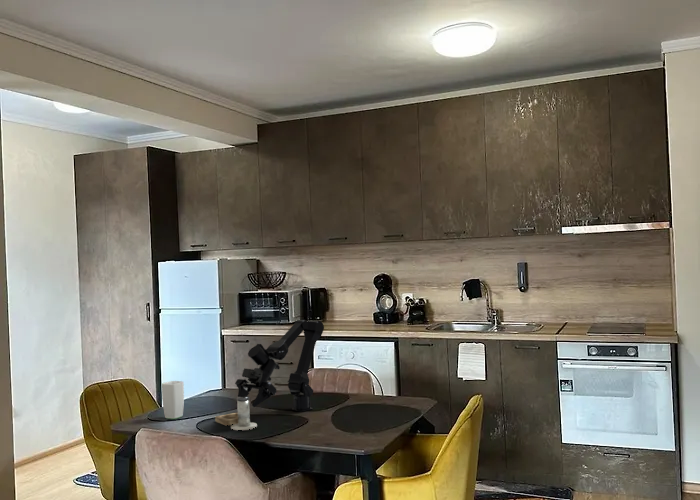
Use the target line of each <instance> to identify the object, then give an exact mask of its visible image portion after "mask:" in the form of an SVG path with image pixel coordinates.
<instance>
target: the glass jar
mask: <svg viewBox="0 0 700 500" xmlns="http://www.w3.org/2000/svg"><path fill="white" fill-rule="evenodd" d="M236 402H237V403H236V405H237V412H238V426H239V427H248V426H250V422H251V415H250V414H251V413H250V412H251V411H250V396H249V395H247V396H239V397H238V396H236Z"/></svg>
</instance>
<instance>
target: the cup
mask: <svg viewBox="0 0 700 500" xmlns="http://www.w3.org/2000/svg"><path fill="white" fill-rule="evenodd" d="M184 385H185V384H184V381H182V380H181V381H179V380H170V381H166V382H163V383H161V398H162V399H161V401H162V407H163V412H164V418H165V419H167V420H177V419H180V418H182V417H183V415H184V404H185V403H184V402H185V395H184V394H185V390H184V389H185V388H184Z"/></svg>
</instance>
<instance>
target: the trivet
mask: <svg viewBox="0 0 700 500" xmlns="http://www.w3.org/2000/svg"><path fill="white" fill-rule="evenodd" d="M255 427H256V428H257V427H258V424H257V423H256V422H251V421H250V426H248V427H239V426H238V423H237V424H233V425H230V429H231V430H232V429H233V430H232V431H238V430H242V431H250V430H253V428H254V429H256V428H255ZM249 429H250V430H249Z"/></svg>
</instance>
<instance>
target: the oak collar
mask: <svg viewBox="0 0 700 500" xmlns="http://www.w3.org/2000/svg"><path fill="white" fill-rule="evenodd" d="M214 417H215V422H216V423H218V424H221V425H224V426H226V427H228V426H232V424H233V425H234V424H237V423H238V411H237V412H233V413H232V412H231V413H228V414H222V415H215V416H214ZM227 425H228V426H227Z"/></svg>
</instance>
